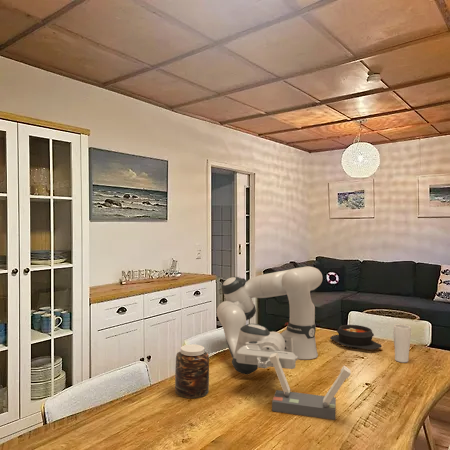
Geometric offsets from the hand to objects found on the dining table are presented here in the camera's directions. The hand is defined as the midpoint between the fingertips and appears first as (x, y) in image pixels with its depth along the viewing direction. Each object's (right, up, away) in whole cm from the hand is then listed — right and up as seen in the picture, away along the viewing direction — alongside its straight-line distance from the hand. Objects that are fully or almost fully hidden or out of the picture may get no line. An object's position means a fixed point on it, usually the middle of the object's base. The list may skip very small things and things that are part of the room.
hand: (262, 365), depth 131 cm
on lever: (+19, -8, -8) cm, 22 cm away
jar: (-23, -12, +8) cm, 28 cm away
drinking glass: (+64, -13, +43) cm, 78 cm away
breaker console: (+13, -12, -4) cm, 18 cm away
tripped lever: (+8, -8, -1) cm, 12 cm away
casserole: (+51, -13, +64) cm, 83 cm away
